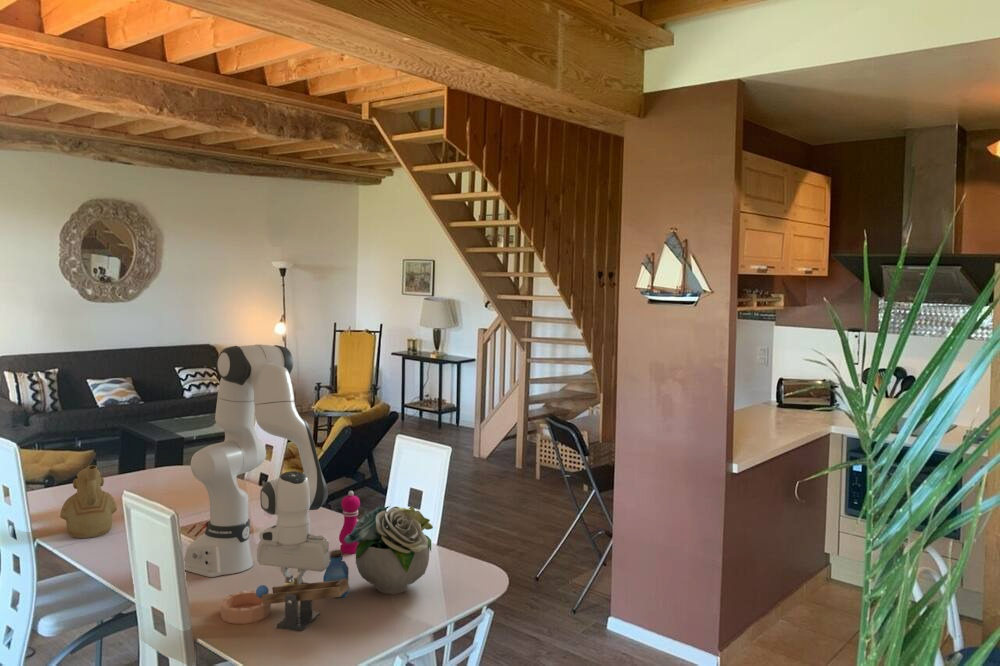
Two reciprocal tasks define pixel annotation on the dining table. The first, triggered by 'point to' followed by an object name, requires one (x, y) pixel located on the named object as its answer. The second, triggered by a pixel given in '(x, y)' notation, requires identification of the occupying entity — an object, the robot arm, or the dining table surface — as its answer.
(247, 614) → the orange round tray
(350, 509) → the pepper mill
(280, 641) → the dining table surface
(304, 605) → the fulcrum
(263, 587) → the ball
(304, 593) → the lever
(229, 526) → the robot arm
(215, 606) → the dining table surface
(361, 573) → the flower arrangement
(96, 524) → the ceramic vessel
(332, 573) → the perfume bottle
